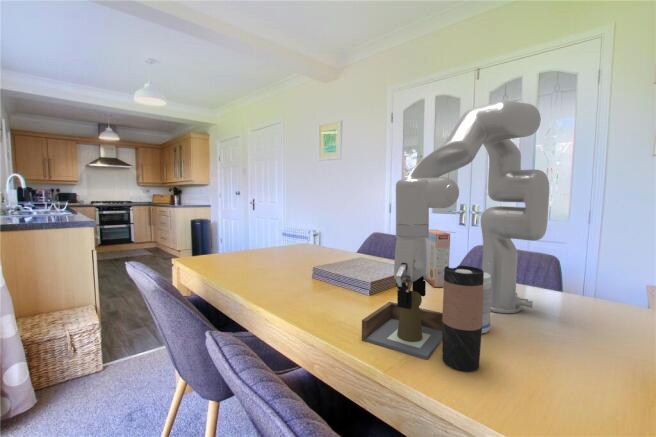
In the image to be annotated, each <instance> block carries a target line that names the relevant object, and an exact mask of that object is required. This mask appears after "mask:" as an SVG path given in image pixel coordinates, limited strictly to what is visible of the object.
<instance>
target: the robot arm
mask: <svg viewBox="0 0 656 437" xmlns="http://www.w3.org/2000/svg"><path fill="white" fill-rule="evenodd" d="M541 118H542V117H541V113H540V111H539V109H538V107H536V106H535V105H534V104H531V103H526V102H519V101H514V100H513V101H512V100H510V101H509V100H504V101H503V100H502V101H497V102H494V103H488V104H485V105H481V106H477V107H473V108H471V109H468V110H467V111H465V112H464V114H463V115H462V116H461V117H460V119H459V120H458V122H457V123H456V125H455V126H454V128H453V130H452V131H451V133H450V135H449V136H448V137H447V139H446V140H445V142H444V143H443V144H442V145H441V146H439V147H437V148H436V149H434V150H433V151H432V152H430V153H429V154H428V155H426V156H425V157H423V158H422V159H421V160H420V161H418V163H416V164H415V166H413V168H412V169H411V170H410V172H409V174H408V175H407V177H406V178H401V179H399V180H398V181H397V182H396V184H395V238H396V241H395V247H394V249H395V250H394V261H393V262H394V265H393V267H394V268H393V277H394V279H395V282H396V283H395V286H396V291H397V292H396V294H397V295H396V296H397V305H398V307H401V308H406V309H411V308H412V292H410V291H415V292H418V293H419V294H420V295H421V297H425V296H426V292H427V290H426V288H427V286H426V283H427V282H426V280H425V279H426V275H425V273H426V268H427V251H426V239H427V238H429V230H430V224H429V223H430V216H429V215H430V209H446V208H447V209H448V208H450V207H451V206H453V205H454V204H456V202H457V201H458V199H459V196H460V188H459V185H458V183H456V182H455V181H454V180H453V179H451V178H449V177H445V176H444V177H443V175H446V174H448V173H451V172H453V171H456V170H460V169H461V168H463V167H465V166H467V165H469V164H471V163H472V162H473V161H474V159H475V158H476V155H477V154H478V152H479V150H480V149H481V147H482V146H484V148H485V150H486V152H487V154H488V178H487V180H488V181H487V195H488V197H489V199H490V200H491V201H494V202H499V203H524V207H523V206H506V205H505V206H502V205H501V206H500V205H499V206H492V207H488V208H487V209H484V211H483V212H482V213H481V215H480V216H481V217H480V228H481V234H482V268H481V269H482V270H483V271H484V272H486V273H488V274H490V275H491V312H493V313H501V314H516V313H520V312H521V310H522V307H525V308H529V309H530V308H531V309H533V306H534V304H533V302H534V301H532V300H529V299H528V298H521V297H520V296H518V292H517V278H518V277H517V274H518V272H517V271H518V258H519V257H518V251H517V248H516V245H515V244H514V242H513V239H515V240H521V241H522V240H523V241H530V242H531V241H539V240H541V239H543V238H544V237H545V235H546V232H547V228H548V221H549V219H548V218H549V206H550V205H549V203H550V181H549V178H548V175H547V174H546V172H544V171H543V170H541V169H534V168H533V169H522V168H521V166H522V163H521V162H522V161H521V160H522V153H521V150H520V148H518V146H517V145H516V144H515V142H513V141H512V140H514V139H519V138H520V139H521V138H526V137H527V138H528V137H531V136H533V135H534V134H535V133H536V132H537V131H538V130H539V129H540V125H541V121H542V119H541ZM411 288H412V290H411ZM521 306H522V307H521Z"/></svg>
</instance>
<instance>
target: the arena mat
mask: <svg viewBox="0 0 656 437" xmlns="http://www.w3.org/2000/svg"><path fill="white" fill-rule="evenodd" d="M398 326H399V320H396V319H390V320H389V321H387V322H386V323H385V324H383V325H382V326H381V327H380V328H378V329H377V330H376V331H375V332H373V333H372V334H371V335H370V336H368V337H367V338H366V340H365V341H364V340H362V341H363V342H366V343H370V344H373V345H376V346H380V347H383V348H387V349H390V350H393V351H397V352H400V353H403V354H407V355H409V356H413V357H416V358H419V359H423V360H426V361H428V360H429V358H430V357H431V356H432V355H433V353H434V352H435V351H436V349H437V348H438V347H439V345H440V344H441V343H442V331H441V330H437V329H433V328H428V327H424V326H421V327H422V336H423V338H422V340H421V341H418V342H408V341H404V340H401V339H399V338H398V336H397V332H398ZM363 339H365V338H363Z"/></svg>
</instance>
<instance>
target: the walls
mask: <svg viewBox="0 0 656 437" xmlns="http://www.w3.org/2000/svg"><path fill="white" fill-rule="evenodd" d="M419 309H420V318H421V326H424V327H428V328H433V329H437V330H441V331H442V316H443V312H440V311H435V310H430V309H426V308H422V307H419ZM400 313H401V307H398V305H397V303H396V302H391V301H388V302H387V303H385V304H384V305H382V306H380V307H379V308H377V309H376V310H375V311H373V312H372V313H370V314H369V315H367V316H366V317H364V318H363V319H361V341H363V340H364V341H363V342H366V341H365V340H366V338H367V337H368V336H370V335H371V334H372V333H373V332H375V331H376V330H377V329H378V328H380V327H381V326H382V325H383V324H385V323H386V322H387V321H389V320H390V319H396V320H399V319H400ZM363 338H365V339H363Z"/></svg>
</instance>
